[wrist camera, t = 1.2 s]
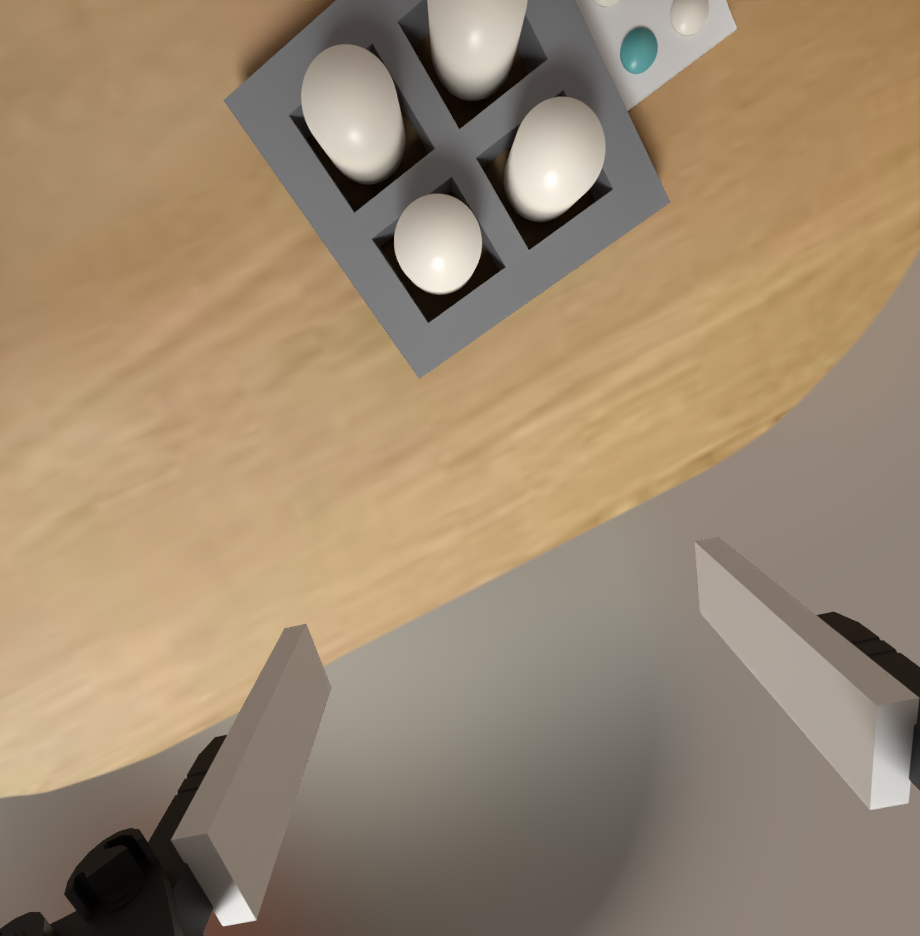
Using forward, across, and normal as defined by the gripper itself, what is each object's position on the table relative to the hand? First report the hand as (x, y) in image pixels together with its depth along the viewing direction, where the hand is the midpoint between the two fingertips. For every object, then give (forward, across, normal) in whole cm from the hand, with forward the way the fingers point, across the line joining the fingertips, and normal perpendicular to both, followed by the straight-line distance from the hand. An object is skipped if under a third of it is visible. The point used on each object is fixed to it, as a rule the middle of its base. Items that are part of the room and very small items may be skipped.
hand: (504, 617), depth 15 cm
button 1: (+25, -2, +23) cm, 34 cm away
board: (+28, +3, +20) cm, 34 cm away
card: (+28, +19, +27) cm, 43 cm away
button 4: (+25, +9, +18) cm, 32 cm away
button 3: (+25, +1, +14) cm, 29 cm away
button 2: (+25, +6, +26) cm, 36 cm away
